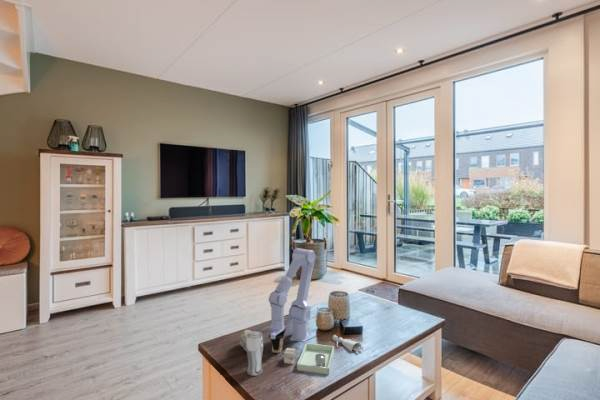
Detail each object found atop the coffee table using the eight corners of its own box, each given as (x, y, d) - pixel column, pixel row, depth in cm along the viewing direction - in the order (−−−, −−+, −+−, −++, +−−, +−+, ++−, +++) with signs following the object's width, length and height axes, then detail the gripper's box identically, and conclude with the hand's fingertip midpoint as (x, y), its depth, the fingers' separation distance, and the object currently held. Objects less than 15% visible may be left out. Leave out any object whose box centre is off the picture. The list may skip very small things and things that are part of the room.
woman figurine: (351, 348, 136) (324, 335, 150) (352, 358, 136) (324, 345, 150) (369, 341, 143) (341, 329, 157) (369, 350, 143) (342, 338, 157)
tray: (306, 349, 143) (306, 342, 143) (334, 352, 140) (334, 346, 140) (296, 371, 126) (296, 364, 126) (328, 376, 123) (328, 368, 123)
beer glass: (255, 364, 131) (255, 329, 130) (267, 370, 126) (267, 334, 126) (242, 372, 125) (242, 335, 125) (254, 378, 121) (254, 340, 120)
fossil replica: (256, 340, 152) (236, 347, 147) (254, 323, 152) (234, 329, 147) (265, 350, 141) (244, 357, 137) (263, 331, 141) (242, 338, 137)
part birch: (286, 359, 135) (286, 347, 135) (295, 360, 134) (295, 349, 134) (284, 364, 131) (284, 352, 131) (293, 365, 130) (293, 353, 130)
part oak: (274, 347, 145) (274, 337, 145) (283, 348, 144) (283, 338, 144) (272, 352, 141) (272, 341, 141) (280, 353, 140) (280, 342, 140)
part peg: (316, 364, 130) (316, 353, 129) (325, 366, 129) (325, 354, 129) (314, 370, 126) (314, 358, 126) (324, 371, 125) (324, 359, 125)
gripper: (274, 311, 150) (274, 339, 150) (263, 323, 136) (263, 354, 136) (288, 312, 148) (288, 340, 149) (279, 325, 134) (279, 356, 135)
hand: (277, 347), depth 142 cm, fingers closed on part oak, 4 cm apart
